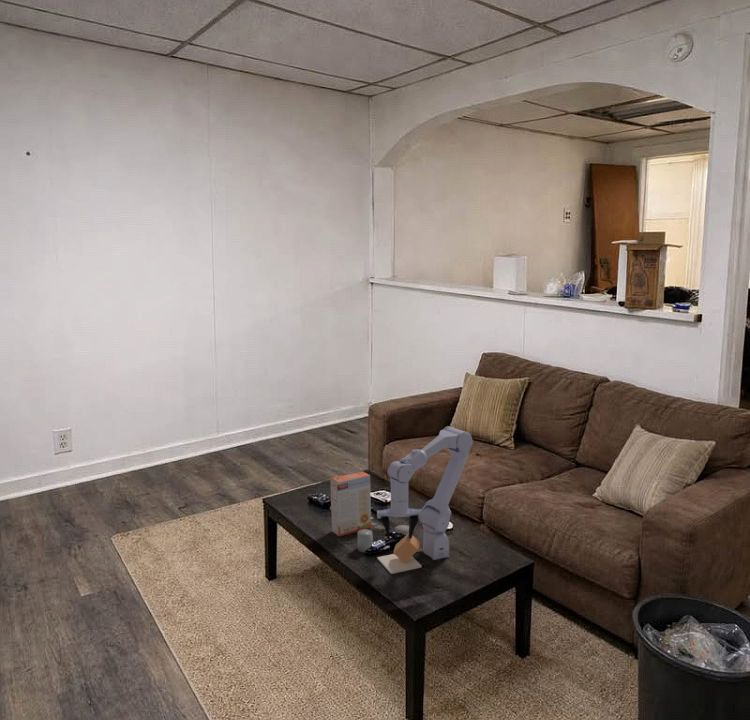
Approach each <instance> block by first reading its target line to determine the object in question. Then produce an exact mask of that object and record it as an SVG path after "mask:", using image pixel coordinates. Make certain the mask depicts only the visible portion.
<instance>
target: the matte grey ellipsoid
mask: <svg viewBox="0 0 750 720" xmlns="http://www.w3.org/2000/svg"><path fill="white" fill-rule="evenodd" d="M395 532H398V533H402V534H404V535H407V534H408V533H409V525H406V524H399V525H395V527H394V533H395Z"/></svg>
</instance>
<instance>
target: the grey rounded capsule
mask: <svg viewBox="0 0 750 720" xmlns="http://www.w3.org/2000/svg"><path fill="white" fill-rule="evenodd" d="M356 533H357V539H356V540H357V551H358V552H361V553H366V552H365V551H366V550H367V549H368V548H370V547H371V546H372V544H373V531H372V530H370V529H363V530H359V531H358V532H356Z"/></svg>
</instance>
